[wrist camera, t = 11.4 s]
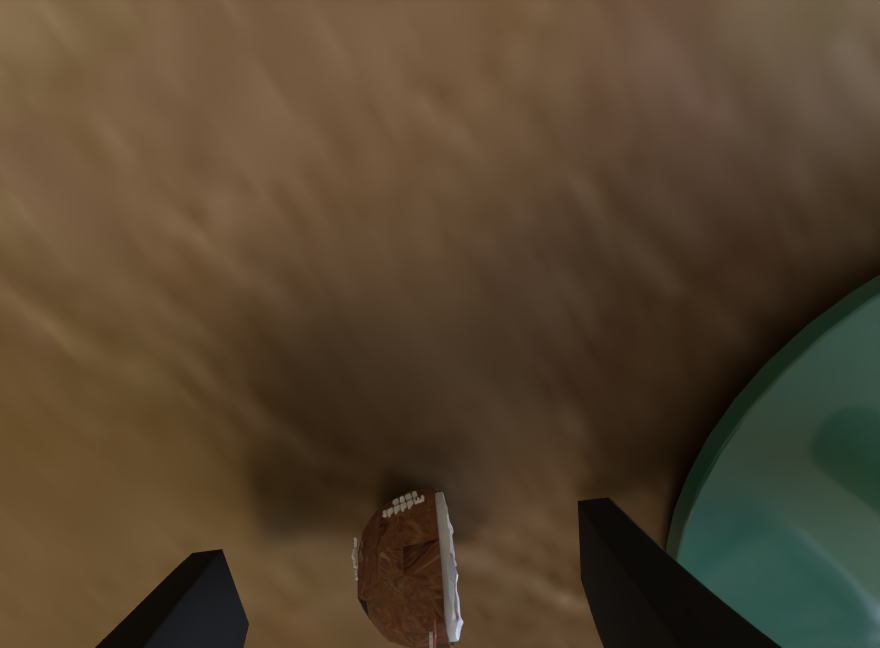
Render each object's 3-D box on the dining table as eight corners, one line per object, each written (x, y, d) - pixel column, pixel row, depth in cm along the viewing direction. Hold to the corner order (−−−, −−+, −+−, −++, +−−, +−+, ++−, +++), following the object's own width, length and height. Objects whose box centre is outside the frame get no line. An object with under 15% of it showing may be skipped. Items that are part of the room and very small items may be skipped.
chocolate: (357, 459, 10) (321, 628, 7) (458, 457, 11) (480, 623, 7) (364, 565, 11) (336, 765, 8) (456, 562, 11) (474, 759, 8)
